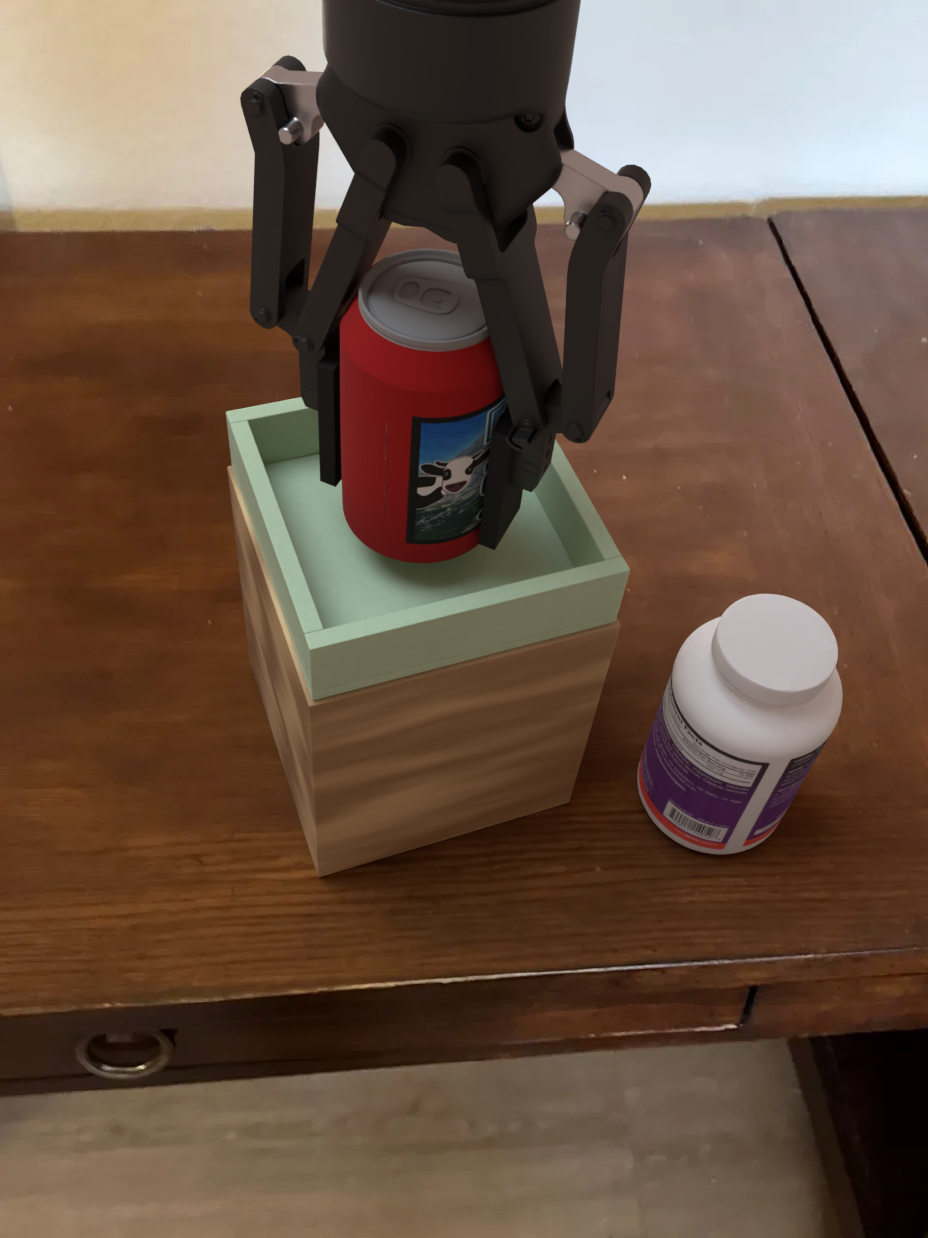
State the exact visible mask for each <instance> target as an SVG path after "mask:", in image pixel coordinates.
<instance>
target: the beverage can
mask: <svg viewBox="0 0 928 1238" xmlns="http://www.w3.org/2000/svg"><path fill="white" fill-rule="evenodd" d="M507 408H508V404H507V400H506V396H505V392H504V389H503V385H502V381H501V377H500V374H499V370H498V366H497V362H496V358H495V355H494V351H493V347H492V343H491V340H490V336H489V332H488V328H487V325H486V321H485V317H484V313H483V309H482V306H481V302H480V298H479V294H478V291H477V287H476V283H475V281H474V280H473V279H468V278H467V277H466V275H465V273H464V270H463V266H462V262H461V258H460V255H459V252H457V251H451V250H446V249H440V248H413V249H408V250H403V251H398V252H395V253H392V254H389V255H388V256H386V257H384V258H381V259H379V260H378V261H377V262H376V263H373V265H372V267H371V268H370V269H369V270H368V271H367V272H366V273H365V275H364V276H363V278H362V280H361V283H360V286H359V290H358V291H357V292H356V294H355V295H354V297H353V298H352V299H351V301H350V302H349V304H348V305H347V307H346V309H345V311H344V313H343V316H342V319H341V323H340V430H341V474H342V504H343V512H344V516H345V519H346V521H347V523H348V525H349V527H350V529H351V530H352V532H353V533H354V534H355V536H356V537H357V538H358V539H359V540H360V541H361V542H362V543H364V544H365V545H366V546H367V547H369V548H370V549H372V550H374V551H375V552H377V553H379V554H381V555H383V556H386V557H389V558H392V559H395V560H399V561H403V562H409V563H436V562H442V561H446V560H450V559H453V558H456V557H459V556H461V555H463V554H465V553H467V552H469V551H470V550H472V549H473V548H475V547H476V546H477V545H478V542H479V534H480V526H481V518H482V510H483V502H484V494H485V486H486V477H487V469H488V461H489V453H490V445H491V437H492V430H493V429H494V427H495V426H496V424H497V423H498V421H499V420H500V418H501V417H502V415H503V414H504V412H505V411H506V409H507Z"/></svg>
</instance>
